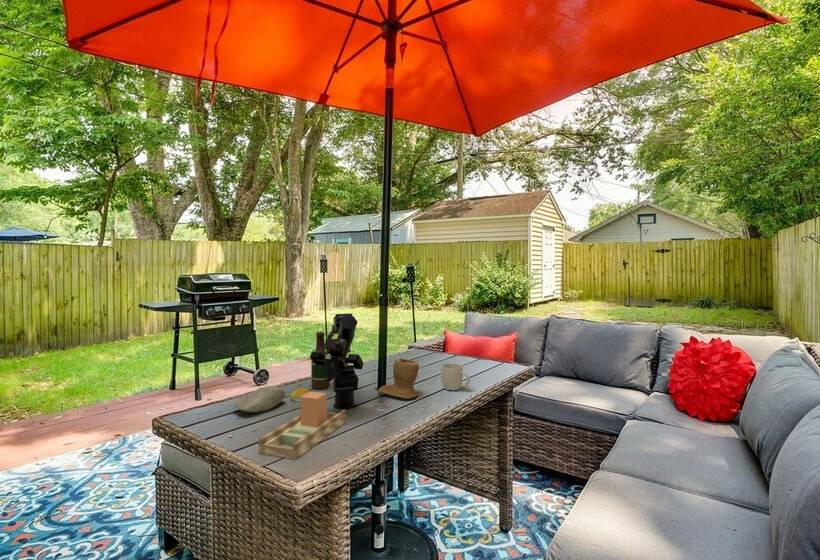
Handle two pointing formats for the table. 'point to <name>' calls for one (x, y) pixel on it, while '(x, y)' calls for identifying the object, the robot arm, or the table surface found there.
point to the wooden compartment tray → (298, 436)
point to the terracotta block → (313, 409)
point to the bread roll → (299, 394)
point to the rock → (261, 399)
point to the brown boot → (402, 379)
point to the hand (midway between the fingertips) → (328, 381)
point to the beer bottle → (319, 371)
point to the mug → (453, 376)
